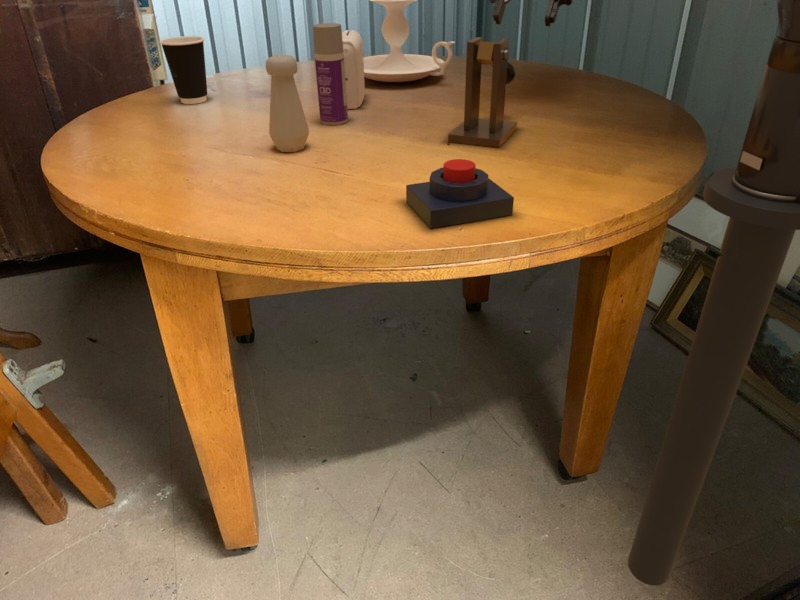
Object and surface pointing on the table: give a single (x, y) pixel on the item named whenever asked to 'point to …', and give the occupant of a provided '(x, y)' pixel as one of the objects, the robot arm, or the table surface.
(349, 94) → the photo printer
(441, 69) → the candlestick
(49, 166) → the table surface
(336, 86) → the container
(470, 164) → the release button
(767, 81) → the robot arm
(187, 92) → the dixie cup
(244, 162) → the table surface
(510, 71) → the lock lever
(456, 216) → the button housing
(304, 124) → the salt shaker
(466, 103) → the lever stand
